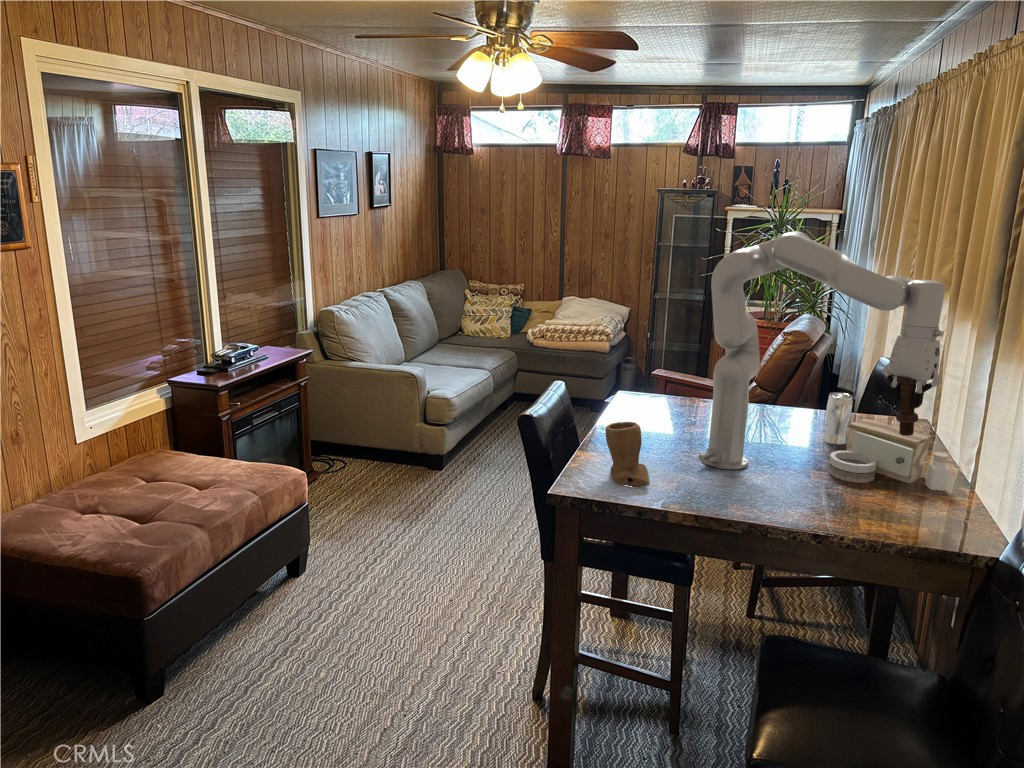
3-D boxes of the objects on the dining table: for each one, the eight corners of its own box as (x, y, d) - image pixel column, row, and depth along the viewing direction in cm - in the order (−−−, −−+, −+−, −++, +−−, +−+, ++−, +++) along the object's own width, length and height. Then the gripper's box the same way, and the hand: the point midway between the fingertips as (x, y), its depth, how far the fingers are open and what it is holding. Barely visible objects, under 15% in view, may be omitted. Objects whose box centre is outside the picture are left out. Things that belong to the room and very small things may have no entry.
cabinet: (887, 495, 186) (894, 451, 183) (819, 472, 201) (825, 431, 197) (924, 476, 199) (932, 436, 196) (858, 456, 213) (864, 418, 210)
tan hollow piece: (603, 466, 202) (606, 415, 198) (646, 469, 200) (650, 417, 197) (602, 488, 187) (605, 433, 183) (649, 491, 186) (653, 435, 182)
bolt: (921, 437, 177) (923, 377, 174) (899, 437, 178) (900, 377, 175) (913, 431, 183) (915, 372, 180) (891, 432, 184) (893, 373, 181)
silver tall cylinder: (851, 444, 224) (858, 397, 220) (834, 446, 221) (841, 399, 217) (834, 437, 230) (840, 391, 226) (817, 439, 227) (823, 393, 223)
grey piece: (881, 484, 186) (885, 456, 184) (820, 461, 201) (824, 435, 199) (908, 476, 191) (913, 449, 189) (847, 454, 206) (851, 429, 204)
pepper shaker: (924, 484, 193) (930, 451, 191) (940, 486, 193) (946, 452, 190) (929, 490, 190) (935, 456, 187) (946, 492, 189) (952, 457, 186)
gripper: (963, 336, 170) (948, 411, 175) (891, 324, 183) (879, 394, 188) (949, 340, 166) (934, 416, 170) (876, 327, 178) (864, 399, 183)
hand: (905, 404), depth 179 cm, fingers closed on bolt, 4 cm apart
